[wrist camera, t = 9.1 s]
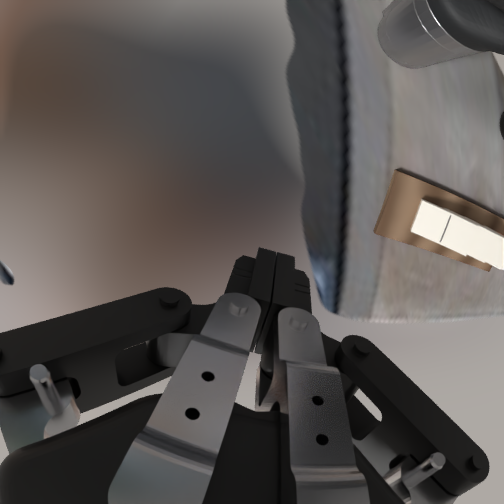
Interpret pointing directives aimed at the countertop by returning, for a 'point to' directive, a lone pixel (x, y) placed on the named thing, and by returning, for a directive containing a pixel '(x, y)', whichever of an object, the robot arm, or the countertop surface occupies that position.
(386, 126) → the countertop surface
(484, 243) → the domino
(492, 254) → the domino
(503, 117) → the supplement bottle
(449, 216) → the domino
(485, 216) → the board
